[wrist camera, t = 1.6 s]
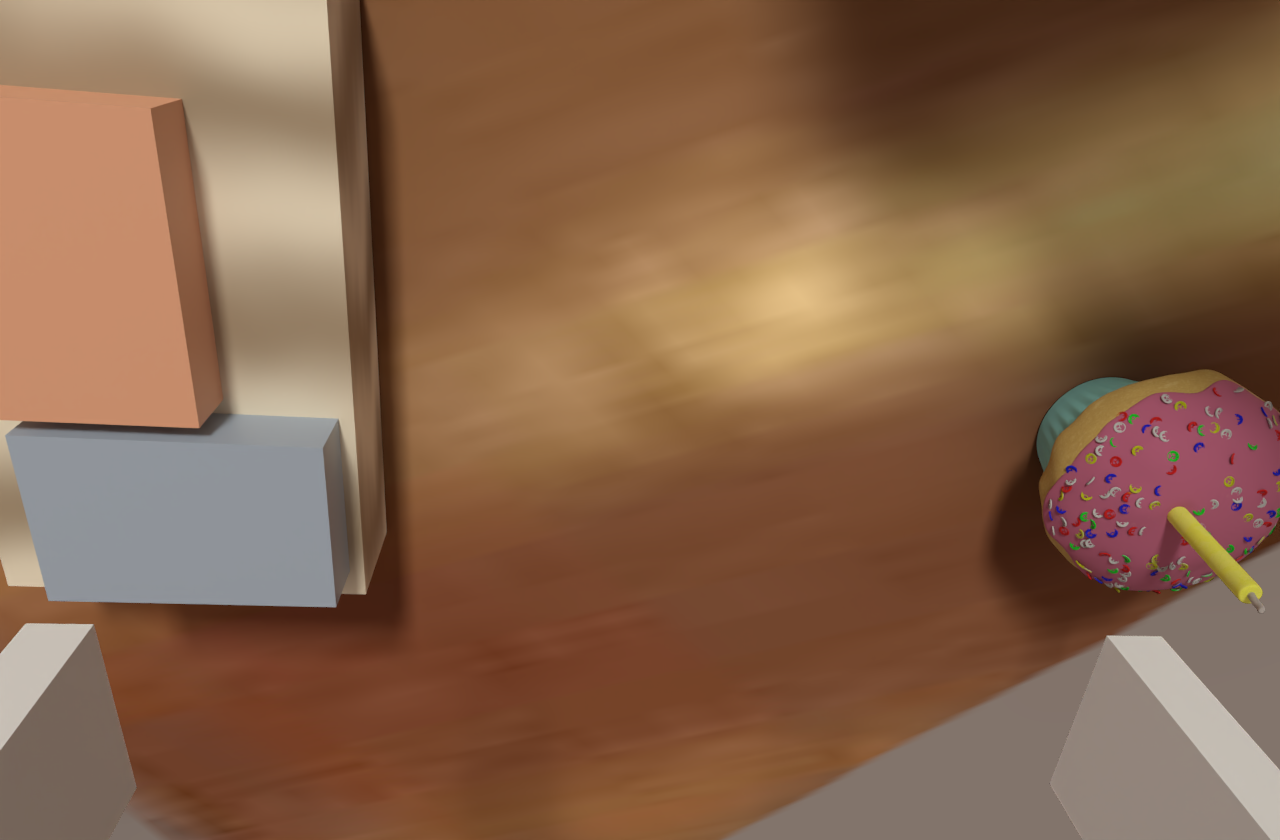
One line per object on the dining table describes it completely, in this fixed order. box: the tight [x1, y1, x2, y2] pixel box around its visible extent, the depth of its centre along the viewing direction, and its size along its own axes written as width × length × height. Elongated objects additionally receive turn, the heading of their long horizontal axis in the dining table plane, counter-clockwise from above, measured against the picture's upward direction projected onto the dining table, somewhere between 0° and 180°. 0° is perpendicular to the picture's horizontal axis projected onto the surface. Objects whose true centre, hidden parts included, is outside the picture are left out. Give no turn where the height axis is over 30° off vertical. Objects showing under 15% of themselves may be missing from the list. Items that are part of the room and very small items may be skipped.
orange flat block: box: [0, 85, 223, 428], centre depth 25 cm, size 9×6×2 cm, turn 175°
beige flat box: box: [0, 0, 387, 594], centre depth 28 cm, size 20×12×4 cm, turn 175°
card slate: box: [5, 413, 350, 607], centre depth 28 cm, size 9×6×2 cm, turn 85°
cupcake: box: [1037, 369, 1280, 613], centre depth 30 cm, size 9×8×12 cm
